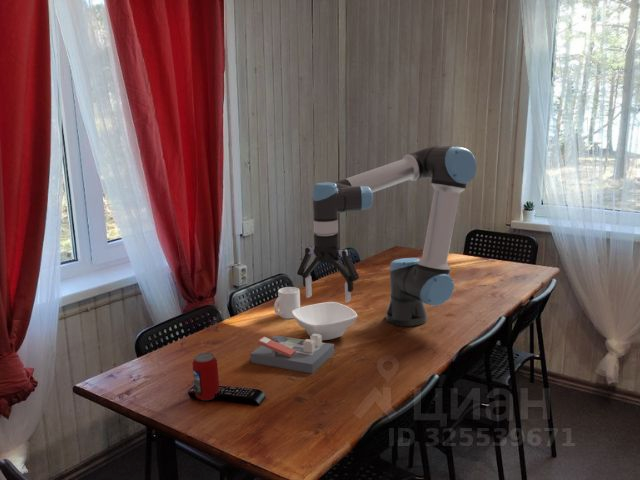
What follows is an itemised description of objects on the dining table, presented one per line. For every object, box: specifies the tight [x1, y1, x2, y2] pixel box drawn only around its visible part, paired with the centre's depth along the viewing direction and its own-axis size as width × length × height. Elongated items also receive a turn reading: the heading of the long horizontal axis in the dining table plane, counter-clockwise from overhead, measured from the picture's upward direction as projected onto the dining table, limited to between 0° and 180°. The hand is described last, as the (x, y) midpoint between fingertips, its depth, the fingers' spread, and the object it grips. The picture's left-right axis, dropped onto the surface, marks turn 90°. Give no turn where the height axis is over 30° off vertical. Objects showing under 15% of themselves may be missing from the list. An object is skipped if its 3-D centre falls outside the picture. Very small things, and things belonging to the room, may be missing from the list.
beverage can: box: [192, 352, 220, 401], centre depth 159 cm, size 7×7×12 cm
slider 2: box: [309, 333, 323, 347], centre depth 184 cm, size 3×2×3 cm
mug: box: [273, 286, 301, 320], centre depth 218 cm, size 12×8×10 cm
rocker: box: [256, 336, 296, 357], centre depth 179 cm, size 12×4×1 cm, turn 65°
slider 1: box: [303, 338, 315, 353], centre depth 179 cm, size 3×2×3 cm
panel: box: [249, 334, 335, 374], centre depth 182 cm, size 22×16×4 cm
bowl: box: [292, 301, 358, 342], centre depth 199 cm, size 21×21×9 cm
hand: (328, 299), depth 179 cm, fingers open, 13 cm apart
